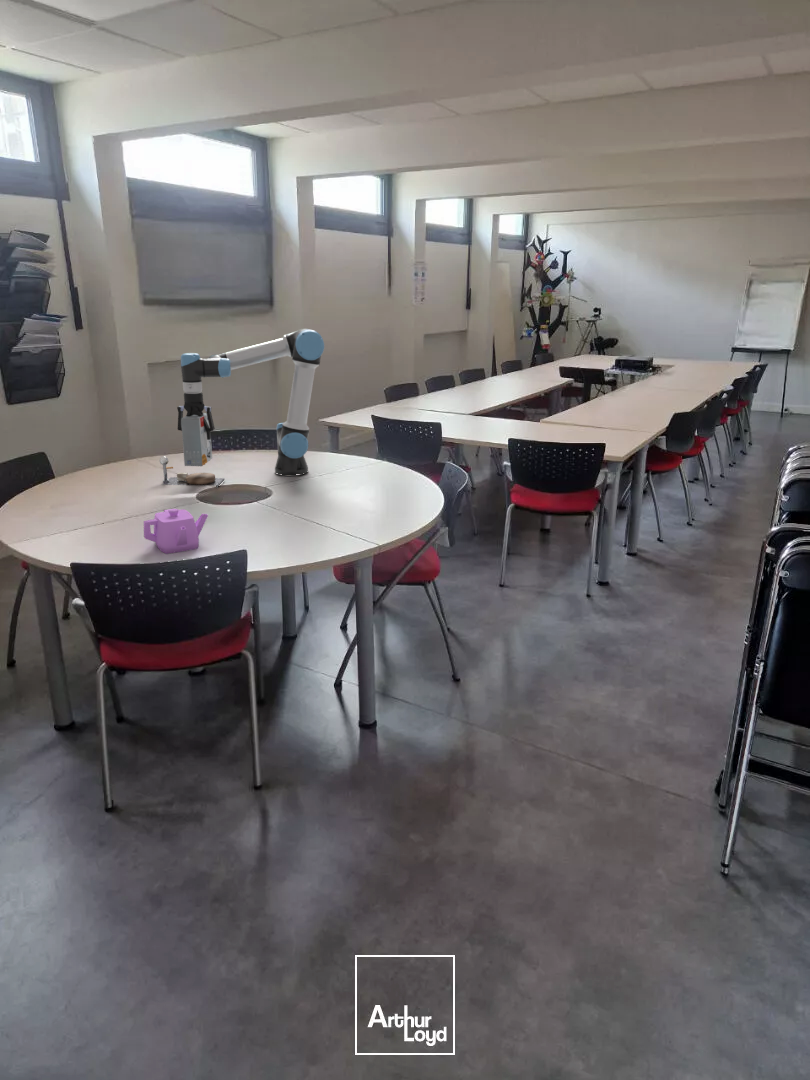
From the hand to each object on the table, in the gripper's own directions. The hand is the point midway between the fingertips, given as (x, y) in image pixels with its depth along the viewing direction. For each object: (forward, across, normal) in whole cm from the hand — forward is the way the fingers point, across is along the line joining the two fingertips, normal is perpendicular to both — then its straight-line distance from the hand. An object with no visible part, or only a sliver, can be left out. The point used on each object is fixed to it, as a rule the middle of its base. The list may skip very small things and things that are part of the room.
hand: (197, 447), depth 297 cm
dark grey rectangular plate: (+16, -3, 0) cm, 17 cm away
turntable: (+15, -2, 0) cm, 15 cm away
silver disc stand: (+15, -14, -2) cm, 21 cm away
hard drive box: (+7, 0, 0) cm, 7 cm away
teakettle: (+17, +14, -74) cm, 78 cm away
